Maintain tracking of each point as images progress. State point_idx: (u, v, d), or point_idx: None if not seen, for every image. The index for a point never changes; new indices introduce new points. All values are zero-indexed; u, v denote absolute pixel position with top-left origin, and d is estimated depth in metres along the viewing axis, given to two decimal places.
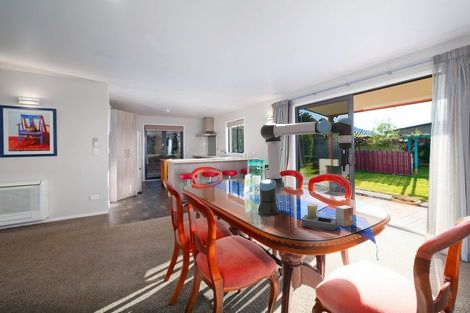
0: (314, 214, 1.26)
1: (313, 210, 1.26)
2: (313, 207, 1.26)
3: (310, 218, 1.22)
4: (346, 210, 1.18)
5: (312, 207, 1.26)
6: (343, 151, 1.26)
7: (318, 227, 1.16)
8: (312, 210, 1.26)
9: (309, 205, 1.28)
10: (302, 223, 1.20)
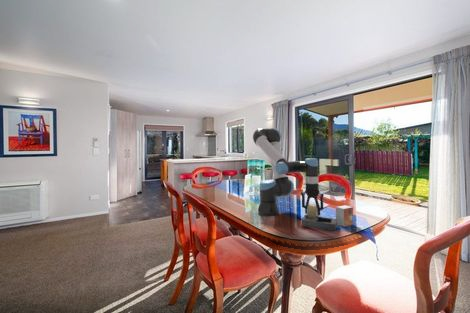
0: (314, 214, 1.26)
1: (313, 210, 1.26)
2: (313, 207, 1.26)
3: (310, 218, 1.22)
4: (346, 210, 1.18)
5: (312, 207, 1.26)
6: None
7: (318, 227, 1.16)
8: (312, 210, 1.26)
9: (309, 205, 1.28)
10: (302, 223, 1.20)
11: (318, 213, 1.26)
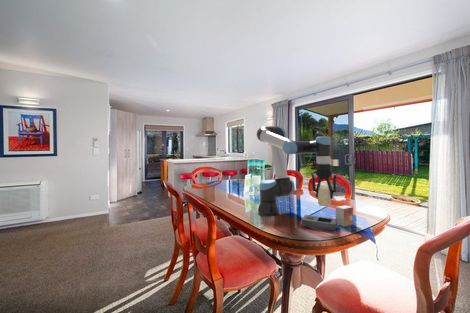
0: (326, 197, 1.15)
1: (325, 192, 1.15)
2: (325, 190, 1.15)
3: (310, 218, 1.22)
4: (346, 210, 1.18)
5: (324, 190, 1.15)
6: None
7: (318, 227, 1.16)
8: (324, 193, 1.15)
9: (320, 188, 1.17)
10: (302, 223, 1.20)
11: (331, 196, 1.15)
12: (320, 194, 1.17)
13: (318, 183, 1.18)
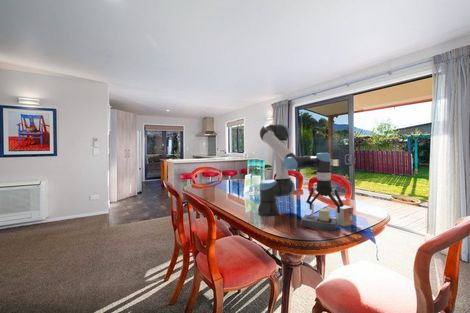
0: (326, 220, 1.15)
1: (325, 215, 1.16)
2: (325, 212, 1.16)
3: (310, 218, 1.22)
4: (346, 210, 1.18)
5: (324, 212, 1.16)
6: None
7: (318, 227, 1.16)
8: (324, 215, 1.16)
9: (321, 210, 1.18)
10: (302, 223, 1.20)
11: (338, 210, 1.14)
12: (320, 216, 1.17)
13: (315, 197, 1.19)
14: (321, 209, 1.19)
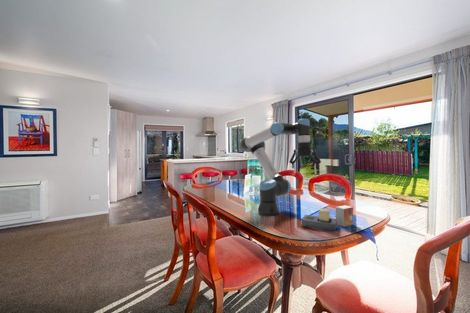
0: (326, 220, 1.15)
1: (325, 215, 1.16)
2: (325, 212, 1.16)
3: (310, 218, 1.22)
4: (346, 210, 1.18)
5: (324, 212, 1.16)
6: None
7: (318, 227, 1.16)
8: (324, 215, 1.16)
9: (321, 210, 1.18)
10: (302, 223, 1.20)
11: (316, 167, 1.33)
12: (320, 216, 1.17)
13: (296, 157, 1.39)
14: (321, 209, 1.19)
